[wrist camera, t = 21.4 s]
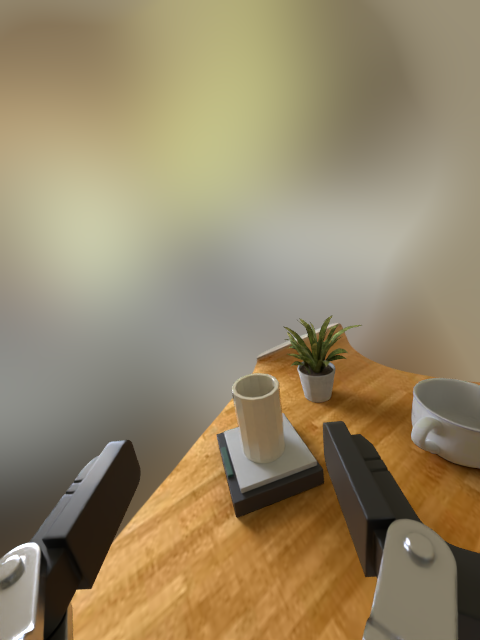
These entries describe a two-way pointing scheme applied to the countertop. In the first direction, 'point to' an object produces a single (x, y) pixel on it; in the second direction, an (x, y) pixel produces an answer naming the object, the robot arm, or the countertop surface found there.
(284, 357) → the countertop surface
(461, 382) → the teacup
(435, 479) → the countertop surface
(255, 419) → the tumbler
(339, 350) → the house plant
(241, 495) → the scale
